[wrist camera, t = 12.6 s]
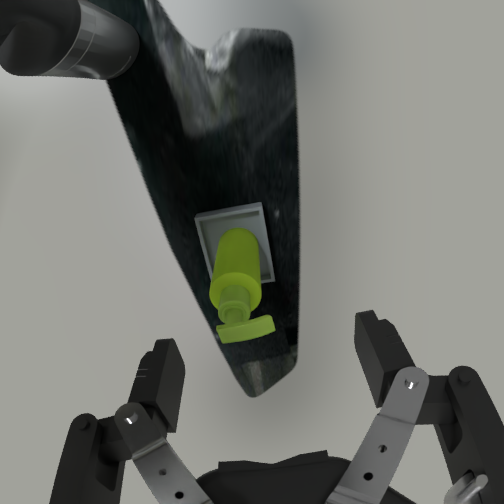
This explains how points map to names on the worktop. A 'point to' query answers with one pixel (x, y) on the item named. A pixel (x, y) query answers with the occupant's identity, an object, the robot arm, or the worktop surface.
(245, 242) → the soap dispenser
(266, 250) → the tray
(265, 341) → the worktop surface
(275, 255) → the worktop surface
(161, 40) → the worktop surface
